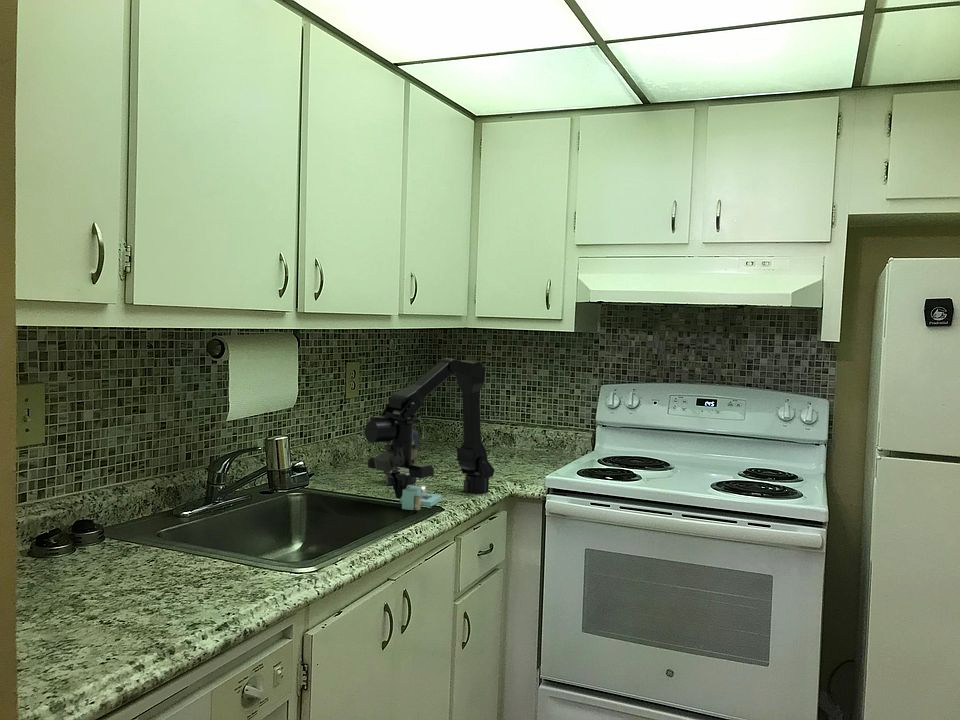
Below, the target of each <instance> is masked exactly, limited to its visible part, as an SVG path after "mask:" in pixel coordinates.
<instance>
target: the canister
mask: <svg viewBox="0 0 960 720" xmlns="http://www.w3.org/2000/svg"><path fill="white" fill-rule="evenodd" d="M388 444H391V441H389V442H386V447H387V446H388ZM412 444H415V448H412V459H415V460H414V463H413V464H411V465H414V464H418V455H419V454H418V453H419V452H418V450H419V449H418V448H419V447H418V446H419V432H418V431H417V430H415V429H413V440H412ZM385 483H386V484H388V485H390V486H393V485H392V482H391V479H390V478H389V477H388V476H387V475H386V474H385ZM416 483H417V478H416V477H413V478H412V479H411V481H410V482H409V484H408V486H414V485H415V484H416Z"/></svg>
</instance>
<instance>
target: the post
mask: <svg viewBox="0 0 960 720" xmlns="http://www.w3.org/2000/svg"><path fill="white" fill-rule="evenodd" d="M415 486H416V487H421V499H423V500H427V494H428V485H426V484H425V485H424V484H416V485H415Z"/></svg>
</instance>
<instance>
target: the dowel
mask: <svg viewBox="0 0 960 720" xmlns="http://www.w3.org/2000/svg"><path fill="white" fill-rule="evenodd" d="M421 507H422V506H421V496H415V508H414V511H421Z"/></svg>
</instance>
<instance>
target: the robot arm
mask: <svg viewBox="0 0 960 720" xmlns="http://www.w3.org/2000/svg"><path fill="white" fill-rule="evenodd" d="M452 375H454V376H455V378H456V379H455V380H456V384H457V385H458V387H459V389H460V390H461V394H462V397H461V399H462V420H463V421H462V424H463V428H462V430H463V441H462V443H461V446H458V447H456V453H457V454H456V455H457V456H456V457H457V458H456V461H457V462H458V465H459V467H460V471H461V474H464V475H465V478H464V480H463V490H462V491H463V493H465V494H468V495H471V494H473V495H484V494H486V493H489V490H490V489H489V488H490V484H489V483H490V478H492V477H494V474H495V471H496V470H495V468H494V467H493V466H492V465H491V463H490V462H489V459H488V454H487V450H486V449H487V448H486V447H485V445H484V443H483V441H482V438H481V437H482V435H481V433H482V432H481V431H482V430H481V405H480V404H481V401H480V399H481V398H480V397H481V396H480V395H481V394H480V392H481V390H482V388H483V387H484V383H485V377H486V368H485V365H483V363H482V362H479V361H472V360H470V361H469V360H461V361H460V360H457V359H456V358H449V357H443V358H441V359H440V360H439V362H438V363H437V364H436V365H434V366H433V367H432V368H430V370H428V371H427V372H426V373H424V375H422V376H421V377H420V378H419V379H418V380H417V381H415V383H413V384H411V385H410V386H409V385H408V386H407V387H404V388H401V389H399V390H397V391H396V392H395V393H393V394H391V395H390V397H389V401H388V403H387V405H386V406H384V407H385V408H384V409H383V411H382V412H381V414H380V415H379V416H376V415H373V416H372V415H371V416H370V417H369V419H370V420H369V421H368V422H367V423H366V425H365V427H364V437H365V439H366V441H367V442H368V443H370V444H376V443H377V444H378V443H387V442H389V441H391V444H388V446H387V445H386V450H385V451H383V452H381V453H380V454H378V455H376V456H370V458H369V459H368V461H367V468H368V469H369V468H370V469H372V470H376V471H380V472H381V471H382V472H383V474H384V475H385V476H386V475H387V476H388V477H389V478H390V479H391V482H392V485H391V486H392V488H393V492H394V496H395V498H396V499H399V500H400V498H402V493H403V490H404V489H406V488H408V487H409V485H408V484H409V482H410V481H411V479H412V478H413V477H416V479H423V478H428V477H433V476H435V475H434V474H435V468H434V467H433V465H432V464H428V463H423V462H420V463H417V464H414V465H411V464H413V463H414V460H415V459H412V448H415V444H412V440H413V430H414V424H421V420H420V419H418V417H417V416H416V414H417V413H418V411H419V410H420V408H422V406H423V404H424V400H425V398H426V397H428V396H429V394H431V393H432V392H433V391H434V390H436V389H437V388H438V386H440V385H441V384H442V383H443V382H445V381H446V380H447V379H448V378H450V376H452Z"/></svg>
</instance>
